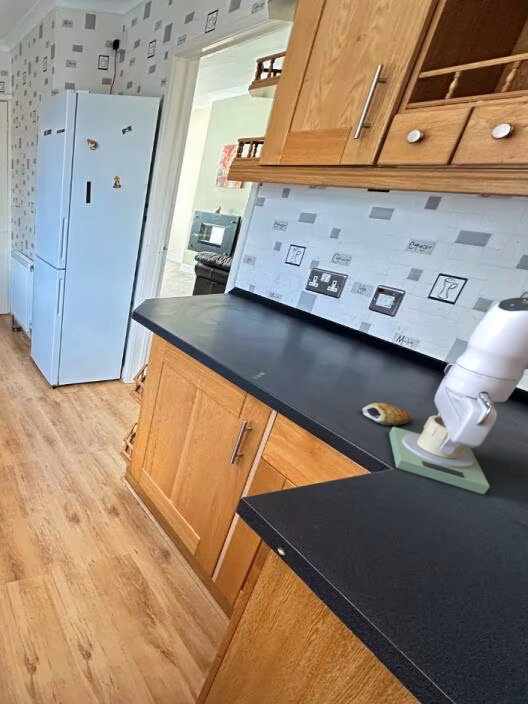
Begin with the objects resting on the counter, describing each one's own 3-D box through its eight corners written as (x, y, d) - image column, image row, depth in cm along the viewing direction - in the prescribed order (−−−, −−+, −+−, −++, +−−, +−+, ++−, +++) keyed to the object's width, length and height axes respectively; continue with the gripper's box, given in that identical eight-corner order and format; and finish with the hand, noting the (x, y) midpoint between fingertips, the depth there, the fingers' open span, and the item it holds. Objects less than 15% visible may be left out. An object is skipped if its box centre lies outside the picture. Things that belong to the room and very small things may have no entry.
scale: (465, 454, 89) (471, 445, 87) (483, 494, 78) (492, 484, 76) (388, 433, 95) (394, 424, 94) (396, 467, 84) (402, 457, 83)
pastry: (392, 411, 104) (399, 398, 102) (416, 426, 98) (425, 413, 96) (357, 412, 103) (364, 399, 101) (380, 427, 97) (388, 414, 95)
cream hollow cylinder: (455, 446, 87) (471, 422, 84) (463, 463, 81) (480, 438, 79) (413, 435, 90) (427, 412, 87) (418, 450, 85) (433, 426, 82)
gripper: (520, 411, 69) (474, 475, 76) (487, 369, 84) (450, 425, 91) (469, 399, 72) (429, 461, 79) (446, 361, 87) (413, 416, 94)
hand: (440, 442), depth 85 cm, fingers closed on cream hollow cylinder, 6 cm apart
